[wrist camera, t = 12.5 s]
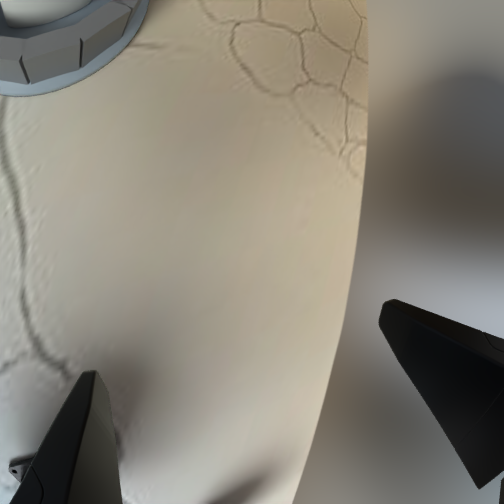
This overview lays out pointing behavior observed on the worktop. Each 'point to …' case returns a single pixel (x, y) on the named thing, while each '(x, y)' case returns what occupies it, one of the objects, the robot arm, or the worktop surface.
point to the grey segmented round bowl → (66, 46)
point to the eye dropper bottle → (38, 11)
